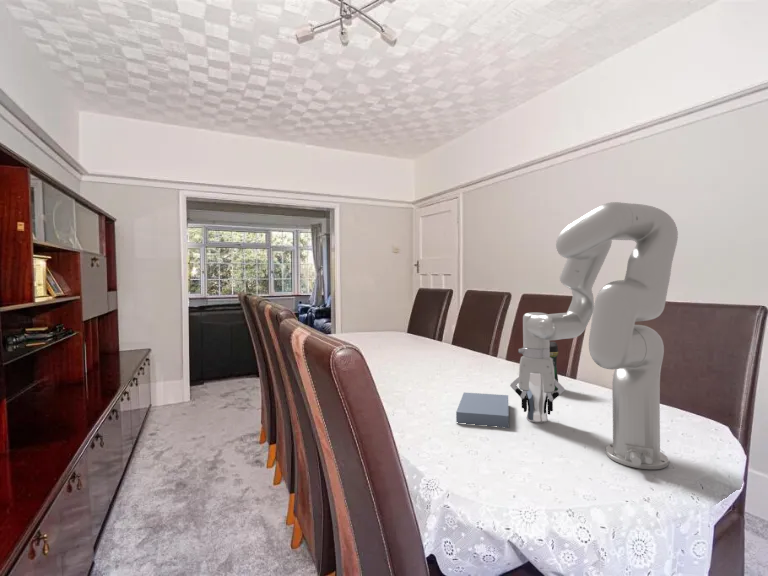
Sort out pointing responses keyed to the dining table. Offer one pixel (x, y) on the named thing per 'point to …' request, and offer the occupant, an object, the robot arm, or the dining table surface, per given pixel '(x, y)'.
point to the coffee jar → (554, 358)
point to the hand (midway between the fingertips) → (537, 411)
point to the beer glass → (536, 399)
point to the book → (483, 410)
